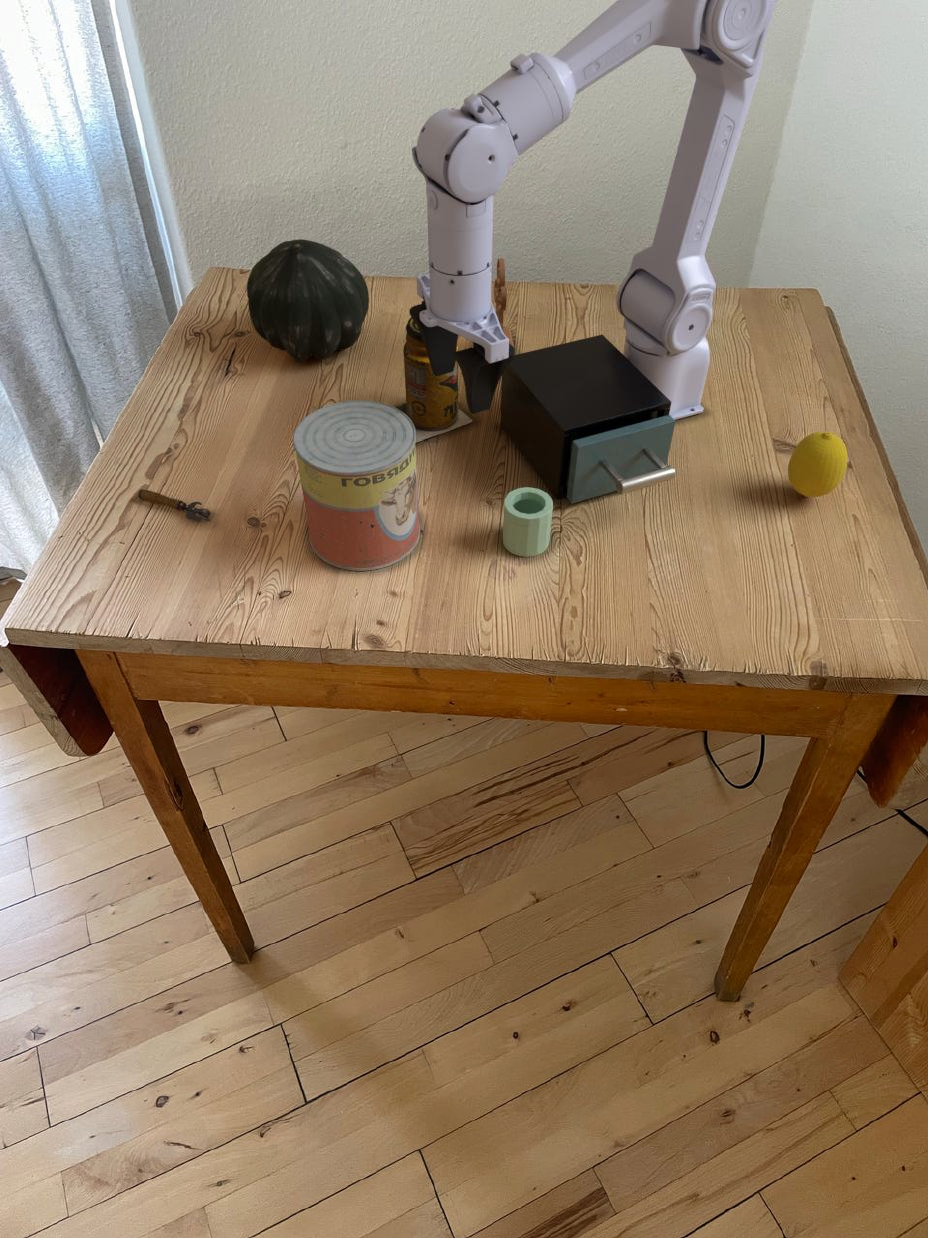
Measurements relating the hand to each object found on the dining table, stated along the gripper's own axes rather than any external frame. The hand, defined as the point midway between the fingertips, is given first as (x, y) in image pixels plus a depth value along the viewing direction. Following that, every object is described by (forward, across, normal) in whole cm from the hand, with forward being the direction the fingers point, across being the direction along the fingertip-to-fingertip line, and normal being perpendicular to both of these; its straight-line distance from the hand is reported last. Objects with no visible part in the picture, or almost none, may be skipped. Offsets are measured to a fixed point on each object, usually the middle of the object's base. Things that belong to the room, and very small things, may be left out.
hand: (461, 390), depth 91 cm
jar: (+10, +13, 0) cm, 17 cm away
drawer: (+9, +8, +13) cm, 18 cm away
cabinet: (+10, +3, +13) cm, 17 cm away
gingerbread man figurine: (+10, -19, +16) cm, 27 cm away
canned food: (+10, +4, -14) cm, 17 cm away
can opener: (+10, -8, -29) cm, 32 cm away
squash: (+10, -32, -4) cm, 34 cm away
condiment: (+10, -10, +1) cm, 15 cm away
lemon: (+10, +22, +30) cm, 38 cm away
